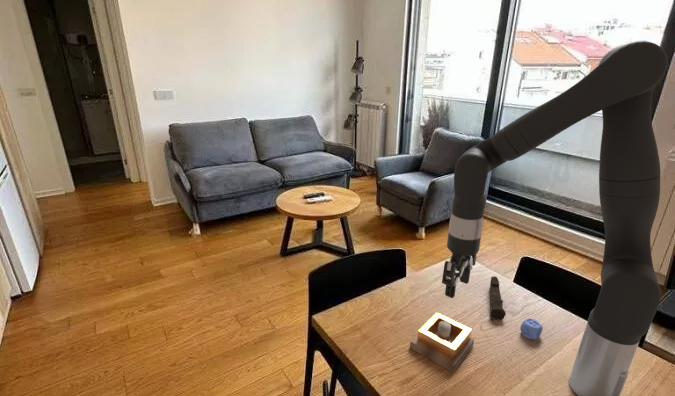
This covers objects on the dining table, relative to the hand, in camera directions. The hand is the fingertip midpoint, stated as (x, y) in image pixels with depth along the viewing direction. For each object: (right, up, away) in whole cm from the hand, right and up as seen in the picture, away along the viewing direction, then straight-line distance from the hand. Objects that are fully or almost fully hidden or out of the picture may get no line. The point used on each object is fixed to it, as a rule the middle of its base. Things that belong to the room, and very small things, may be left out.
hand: (457, 289), depth 94 cm
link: (-3, -14, +3) cm, 14 cm away
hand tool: (+18, -10, +22) cm, 30 cm away
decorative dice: (+23, -15, +8) cm, 28 cm away
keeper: (-3, -16, +3) cm, 16 cm away
